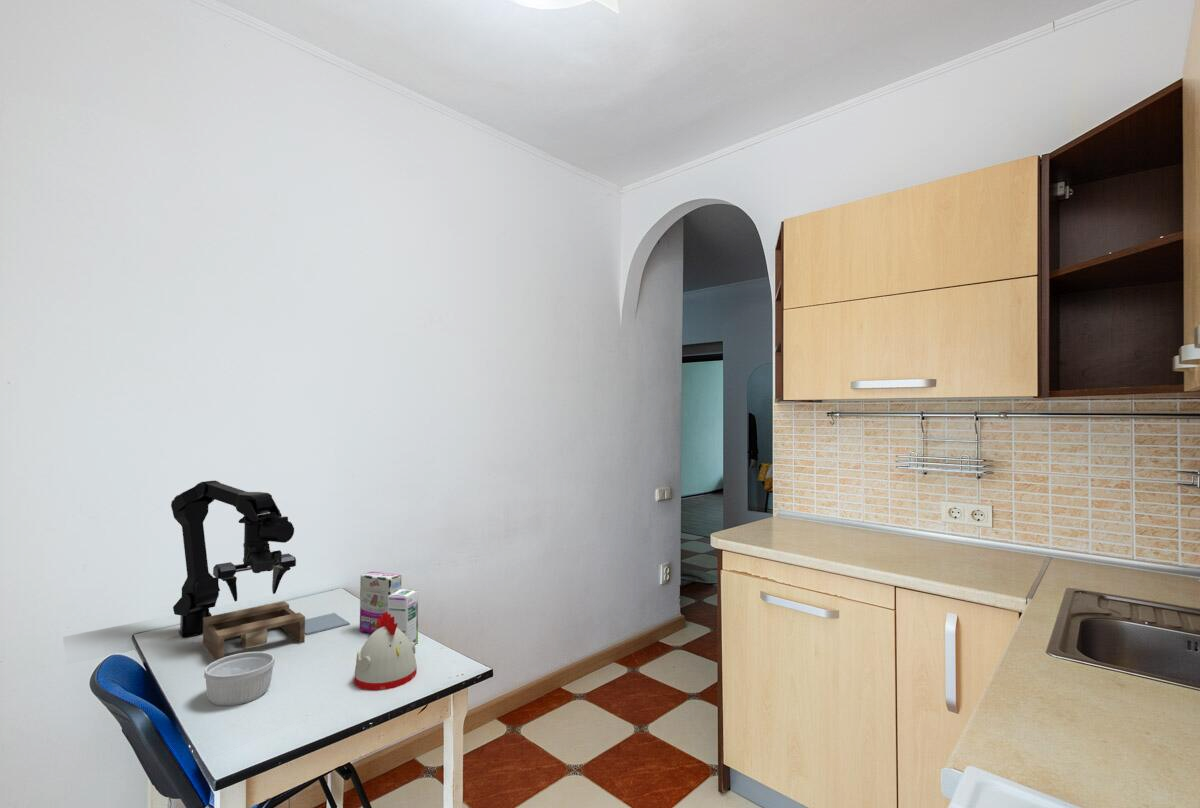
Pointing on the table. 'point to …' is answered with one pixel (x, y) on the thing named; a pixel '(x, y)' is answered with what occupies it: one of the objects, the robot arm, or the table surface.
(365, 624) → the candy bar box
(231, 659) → the ramekin
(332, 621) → the pad
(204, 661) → the table surface
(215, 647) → the wooden rack
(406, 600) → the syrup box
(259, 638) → the maple block
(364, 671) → the kitchen timer
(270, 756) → the table surface
